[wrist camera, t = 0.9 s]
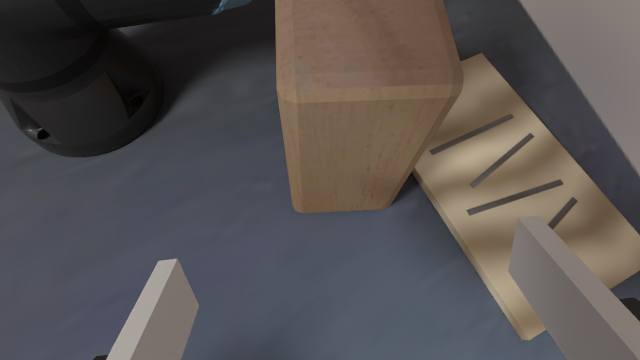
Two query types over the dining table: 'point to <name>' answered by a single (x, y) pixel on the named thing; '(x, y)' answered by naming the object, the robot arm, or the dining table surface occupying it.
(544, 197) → the board
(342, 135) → the wooden block
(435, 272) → the dining table surface
